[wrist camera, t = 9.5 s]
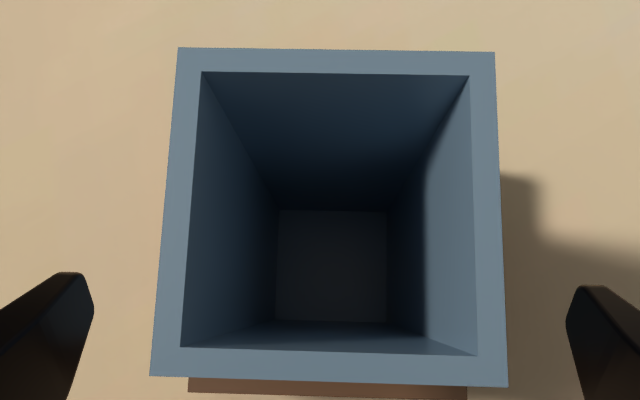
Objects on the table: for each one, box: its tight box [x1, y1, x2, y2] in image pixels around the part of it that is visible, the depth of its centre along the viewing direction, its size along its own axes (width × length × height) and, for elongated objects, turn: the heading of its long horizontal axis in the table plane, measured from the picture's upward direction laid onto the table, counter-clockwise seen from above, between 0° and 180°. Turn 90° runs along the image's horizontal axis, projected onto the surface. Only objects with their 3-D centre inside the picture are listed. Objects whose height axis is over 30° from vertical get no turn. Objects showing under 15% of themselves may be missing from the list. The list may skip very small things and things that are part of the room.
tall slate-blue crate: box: [149, 47, 508, 388], centre depth 14 cm, size 5×5×13 cm
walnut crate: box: [188, 377, 467, 400], centre depth 19 cm, size 9×9×4 cm
